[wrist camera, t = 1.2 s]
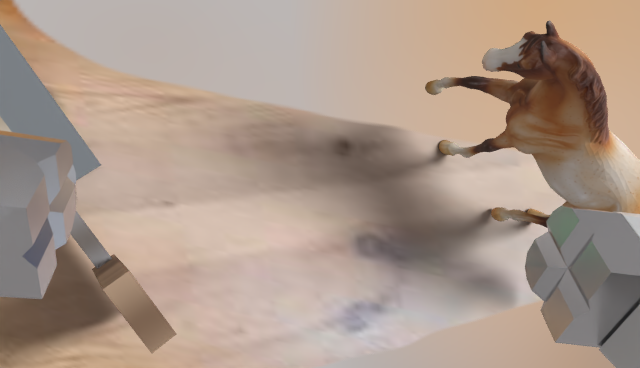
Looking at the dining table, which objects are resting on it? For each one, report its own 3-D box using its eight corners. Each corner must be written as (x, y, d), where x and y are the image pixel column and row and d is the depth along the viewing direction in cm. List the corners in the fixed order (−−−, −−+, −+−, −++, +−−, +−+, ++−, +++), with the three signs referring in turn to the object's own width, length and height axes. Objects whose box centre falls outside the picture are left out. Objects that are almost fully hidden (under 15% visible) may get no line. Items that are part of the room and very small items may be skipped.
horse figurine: (371, 87, 53) (541, 34, 35) (417, 39, 56) (599, -35, 37) (532, 295, 63) (733, 340, 44) (566, 245, 65) (769, 269, 47)
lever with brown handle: (-73, 72, 36) (-111, 36, 28) (-26, 49, 37) (-49, 8, 29) (123, 325, 42) (141, 361, 33) (159, 298, 43) (185, 326, 34)
